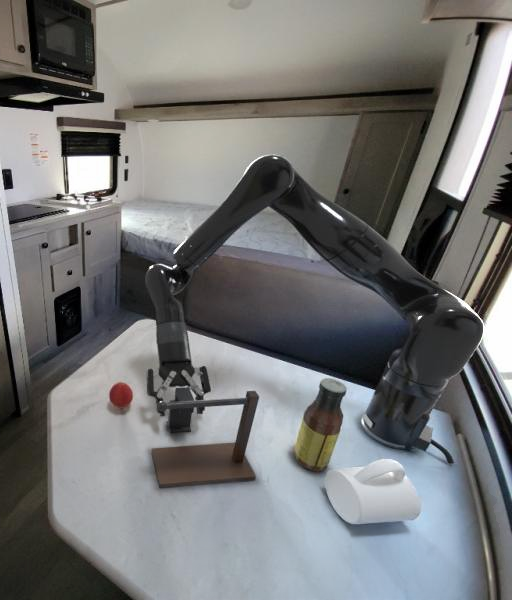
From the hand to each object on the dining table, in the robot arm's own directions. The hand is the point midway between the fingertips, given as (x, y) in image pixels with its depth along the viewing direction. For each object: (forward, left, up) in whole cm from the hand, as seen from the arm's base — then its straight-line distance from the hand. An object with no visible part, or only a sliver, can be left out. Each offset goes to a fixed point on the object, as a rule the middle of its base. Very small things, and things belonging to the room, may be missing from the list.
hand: (181, 415), depth 71 cm
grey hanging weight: (0, 0, -5) cm, 5 cm away
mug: (-33, -9, -5) cm, 35 cm away
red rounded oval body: (+15, +4, -5) cm, 16 cm away
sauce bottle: (-23, -13, -5) cm, 27 cm away
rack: (-8, +4, -5) cm, 10 cm away
